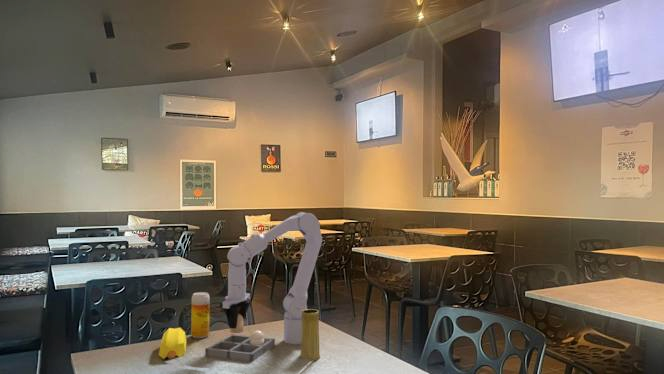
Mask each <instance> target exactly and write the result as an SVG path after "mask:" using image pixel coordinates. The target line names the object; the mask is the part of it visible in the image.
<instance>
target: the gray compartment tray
mask: <svg viewBox="0 0 664 374" xmlns="http://www.w3.org/2000/svg"><path fill="white" fill-rule="evenodd" d="M250 336H251V335H241V334H235V333H232V334H229V335H227V336H225V337H224V338H222V339H220V340H218V341H217V342H215V343H213V344H212V345H210V346H208V347H206V348H204V349H205V352H204V356H205V357H208V358H210V357H211V358H217V359H225V360H232V361H241V362H249V363H253V362H254V361H256V360H257V359H259V358H260V357H261V356H263V355H264V354H265V353H266V352H268V351H270V350H271V349H272V348H273V347H275V344H276V343H275V342H276V341H275V338H272V337H271V338H269V337H264V344H263V345H254V344H250Z"/></svg>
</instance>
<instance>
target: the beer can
mask: <svg viewBox="0 0 664 374" xmlns="http://www.w3.org/2000/svg"><path fill="white" fill-rule="evenodd" d="M210 298H211V297H210V294H209V293H208V292H205V291H200V292H194V293H193V294H192V295H191V310H190V312H191V313H190V314H191V317H190V318H191V319H190V320H191V321H190V323H191V324H190V325H191V327H190V332H191V333H190V335H191V336H192V338H193V339H199V340H201V339H206V338H208V336H209V334H210Z"/></svg>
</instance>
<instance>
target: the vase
mask: <svg viewBox="0 0 664 374" xmlns="http://www.w3.org/2000/svg"><path fill="white" fill-rule="evenodd" d="M319 315H320V313H319V310H318V309H314V308H313V309H311V308H309V309H308V308H307V310H303V311H302V335H301V344H300V357H301V358H303V359H309V360H310V362H314V361H317V360H318V361H319V360H320V358H321V355H320V354H321V353H320V327H319V326H320V325H319V324H320V323H319V320H320V319H319V318H320V316H319Z"/></svg>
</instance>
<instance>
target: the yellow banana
mask: <svg viewBox="0 0 664 374" xmlns="http://www.w3.org/2000/svg"><path fill="white" fill-rule="evenodd" d="M187 341H188V339H187V336H186V331H185V330H184V329H183V328H182V327H174V328H173V327H169V328H168V329H167V330H165V332H164V333H163V335H162V338H161V342H160V346H159V351H158V356H159V357H161V358H162V359H163V360H166V359H167V358H168V360H171V359H174V358H176V357H178V358H180V357H182V356H184V355H185V354H186V349H187Z"/></svg>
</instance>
